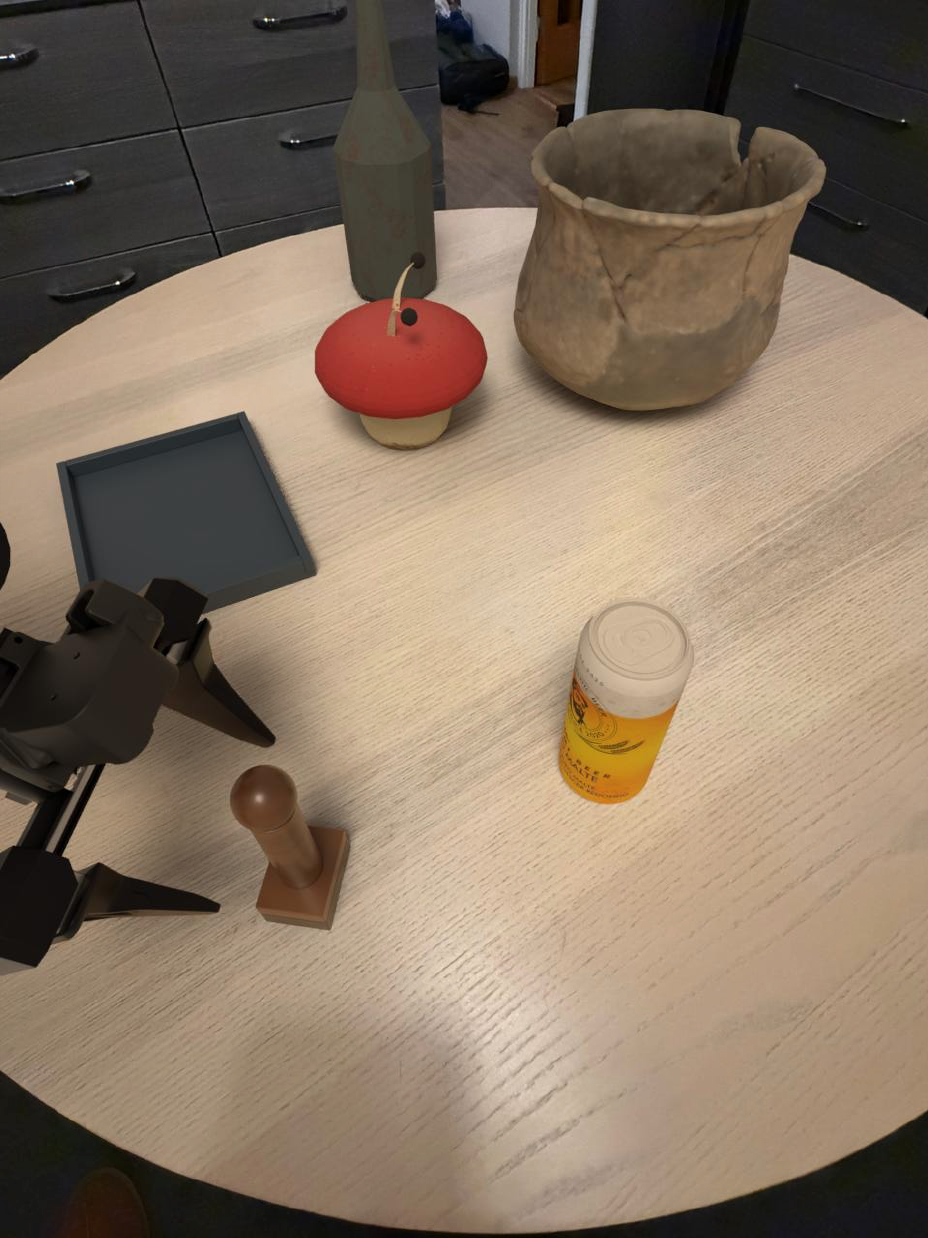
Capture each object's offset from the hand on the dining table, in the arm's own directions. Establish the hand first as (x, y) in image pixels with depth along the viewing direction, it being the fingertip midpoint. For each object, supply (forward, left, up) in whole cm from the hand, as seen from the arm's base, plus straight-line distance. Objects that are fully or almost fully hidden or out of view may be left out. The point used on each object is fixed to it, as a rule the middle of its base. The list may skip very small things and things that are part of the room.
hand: (246, 820), depth 39 cm
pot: (+48, +35, -9) cm, 60 cm away
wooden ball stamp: (+2, -1, -9) cm, 9 cm away
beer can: (+22, -2, -9) cm, 24 cm away
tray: (+1, +34, -9) cm, 35 cm away
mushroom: (+24, +38, -9) cm, 46 cm away
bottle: (+33, +64, -9) cm, 73 cm away
